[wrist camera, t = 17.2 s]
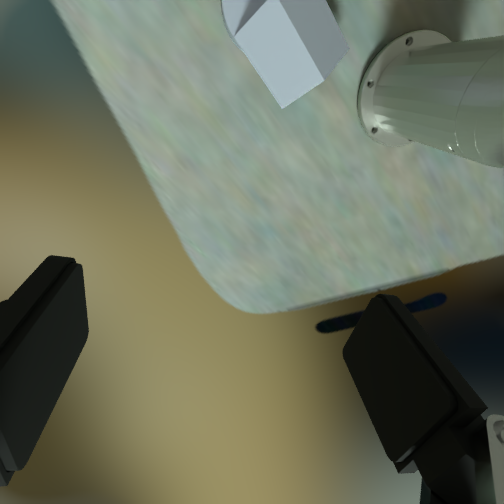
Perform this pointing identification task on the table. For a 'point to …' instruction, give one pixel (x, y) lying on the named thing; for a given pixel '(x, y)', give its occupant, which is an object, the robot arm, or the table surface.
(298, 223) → the table surface
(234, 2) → the white angular piece
